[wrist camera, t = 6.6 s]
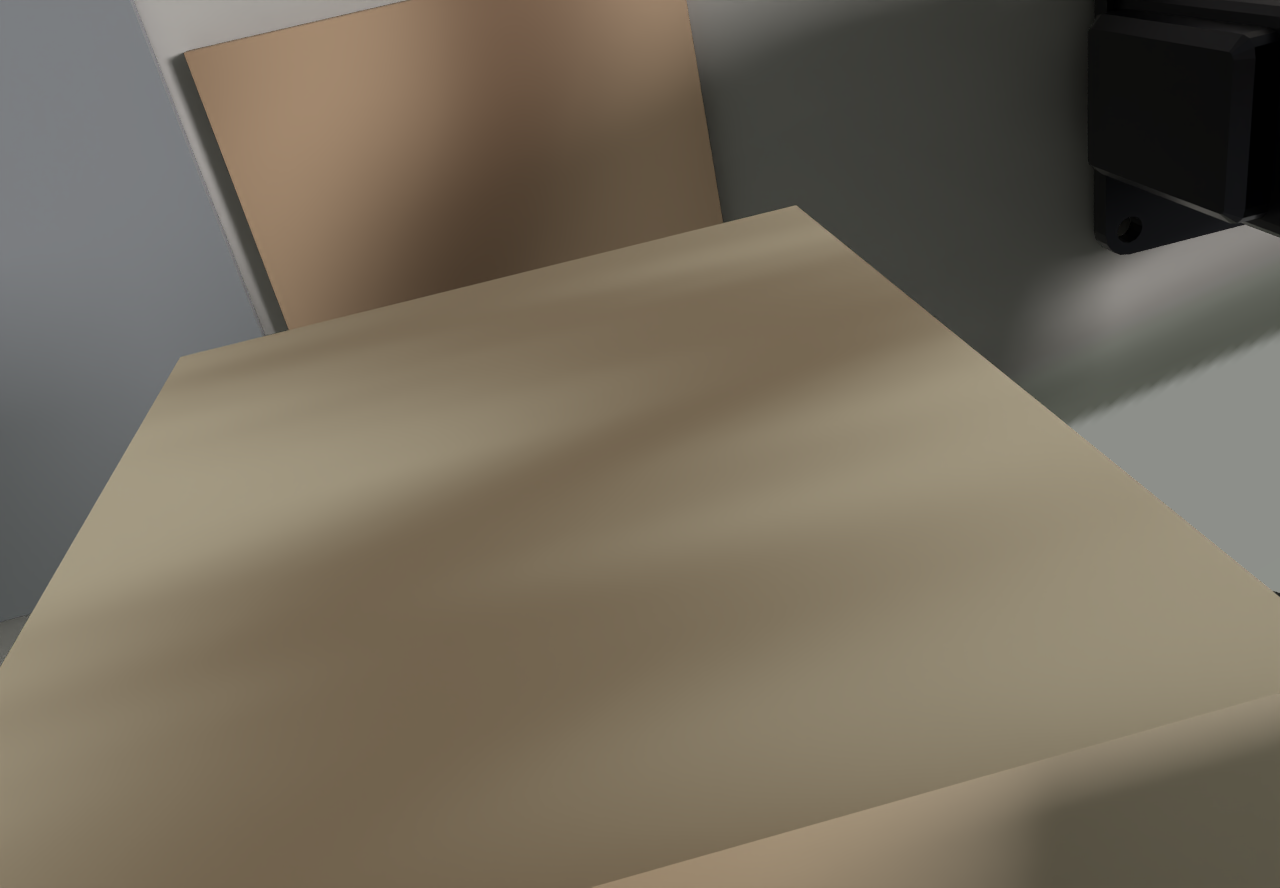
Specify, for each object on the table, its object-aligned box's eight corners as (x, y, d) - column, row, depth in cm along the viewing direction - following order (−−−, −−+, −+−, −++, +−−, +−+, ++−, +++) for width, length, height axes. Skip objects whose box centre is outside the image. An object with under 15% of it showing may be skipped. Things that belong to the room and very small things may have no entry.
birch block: (796, 205, 9) (1367, 669, 3) (858, 678, 11) (1252, 1396, 6) (179, 356, 8) (-270, 1133, 3) (377, 810, 11) (319, 1700, 5)
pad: (673, -61, 18) (675, -61, 17) (745, 375, 21) (749, 381, 21) (187, 50, 17) (183, 52, 17) (349, 478, 21) (347, 485, 20)
